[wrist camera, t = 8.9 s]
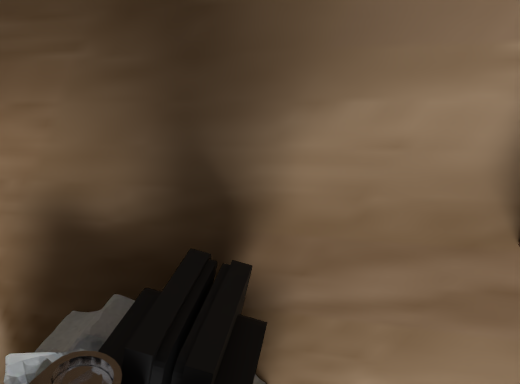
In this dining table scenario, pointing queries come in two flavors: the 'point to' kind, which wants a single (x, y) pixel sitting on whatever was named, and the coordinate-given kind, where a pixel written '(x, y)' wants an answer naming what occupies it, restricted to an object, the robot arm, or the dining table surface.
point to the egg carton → (71, 340)
